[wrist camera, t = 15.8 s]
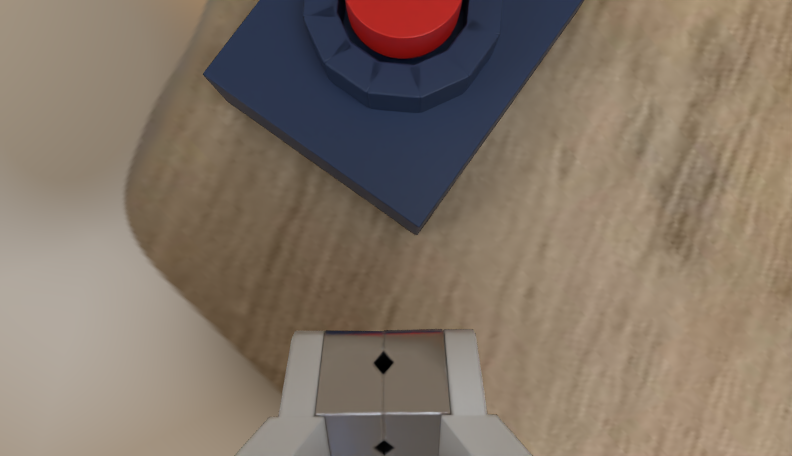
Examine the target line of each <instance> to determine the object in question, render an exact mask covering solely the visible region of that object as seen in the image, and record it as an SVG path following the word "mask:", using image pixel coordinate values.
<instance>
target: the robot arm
mask: <svg viewBox="0 0 792 456" xmlns="http://www.w3.org/2000/svg"><path fill="white" fill-rule="evenodd" d="M235 456H533V455H532V454H531V453H530V452H529V451H528V450H527V448H526V447H525V446H524V445H523V444H522V443H521V442H520V440H519V439H518V438H517V437H516V436H515V435H514V434H513V433H512V431H511V430H510V429H509V428H508V427H507V426H506V425H505V423H504V422H503V421H502V420H501V419H500V418H499V417H498V415H494V414H487V407H486V401H485V394H484V387H483V380H482V373H481V366H480V359H479V353H478V346H477V339H476V334H475V332H474V330H473V329H444V330H442V329H421V330H384V331H295V332H294V335H293V337H292V339H291V345H290V351H289V357H288V363H287V369H286V374H285V380H284V386H283V392H282V398H281V404H280V410H279V415H278V417H269V418H268V419H267V420H266V421H265V422H264V423H263V425H262V426H261V427H260V428H259V429H258V430H257V431H256V432H255V433H254V434H253V435H252V437H251V438H250V439H249V440H248V441H247V442H246V443H245V444H244V446H243V447H242V448H241V449H240V450H239V451H238V452H237V453H236V455H235Z"/></svg>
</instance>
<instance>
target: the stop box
mask: <svg viewBox="0 0 792 456" xmlns="http://www.w3.org/2000/svg"><path fill="white" fill-rule="evenodd" d="M583 1H584V0H462V4H461V9H460V13H459V17H458V21H457V24H456V26H455V28H454V30H453V32H452V33H451V35H450V36H449V37H448V39H447V40H446V41H445V42H444V43H443V44H442V45H441V46H439V47H438V48H436V49H435V50H434V51H432V52H430V53H428V54H425V55H423V56H420V57H415V58H408V59H398V58H391V57H388V56H384V55H382V54H379V53H377V52H375V51H374V50H372V49H370V48H369V47H368V46H366V45H365V44H364V43H363V42H362V41H361V40H360V39H359V37H358V36H357V35H356V33H355V32H354V30H353V28H352V26H351V24H350V21H349V17H348V13H347V8H346V3H345V0H259V2H258V3H257V4H256V6H255V7H254V8H253V9H252V11H251V12H250V13H249V15H248V16H247V17H246V19H245V20H244V21H243V22H242V24H241V25H240V26H239V28H238V29H237V30H236V32H235V33H234V34H233V35H232V37H231V38H230V39H229V41H228V42H227V43H226V44H225V46H224V47H223V48H222V50H221V51H220V52H219V54H218V55H217V56H216V57H215V59H214V60H213V61H212V63H211V64H210V65H209V67H208V68H207V69H206V70H205V72H204V73H203V75H204V76H205V77H206V79H207V80H208V81H209V82H210V83H211V84H212V85H213V86H214V87H215V88H216V89H217V91H218V92H219V93H220V94H221V95H222V96H223V97H224V98H225V99H226V100H227V101H228V102H229V103H230V104H232V105H233V106H235V107H236V108H238V109H239V110H240V111H242V112H243V113H245V114H246V115H247V116H249V117H250V118H252V119H253V120H254V121H256V122H257V123H259V124H260V125H261V126H263V127H264V128H266V129H267V130H268V131H270V132H271V133H273V134H274V135H276V136H277V137H278V138H280V139H281V140H283V141H284V142H285V143H287V144H288V145H290V146H291V147H292V148H294V149H295V150H297V151H298V152H299V153H301V154H302V155H304V156H305V157H306V158H308V159H309V160H311V161H312V162H314V163H315V164H316V165H318V166H319V167H321V168H322V169H323V170H325V171H326V172H328V173H329V174H330V175H332V176H333V177H335V178H336V179H337V180H339V181H340V182H342V183H343V184H344V185H346V186H347V187H349V188H350V189H352V190H353V191H354V192H356V193H357V194H359V195H360V196H361V197H363V198H364V199H366V200H367V201H368V202H370V203H371V204H373V205H374V206H375V207H377V208H378V209H380V210H381V211H382V212H384V213H385V214H387V215H388V216H390V217H391V218H392V219H394V220H395V221H397V222H398V223H399V224H401V225H402V226H404V227H405V228H406V229H408V230H409V231H411V232H412V233H413V234H415V235H418V233H419V232H420V231H421V229H422V228H423V226H424V225H425V224H426V222H427V221H428V219H429V218H430V217H431V215H432V214H433V212H434V211H435V210H436V208H437V207H438V205H439V204H440V203H441V201H442V200H443V198H444V197H445V196H446V194H447V193H448V191H449V190H450V189H451V187H452V186H453V184H454V183H455V182H456V180H457V179H458V177H459V176H460V175H461V173H462V172H463V170H464V169H465V168H466V166H467V165H468V163H469V162H470V161H471V159H472V158H473V156H474V155H475V154H476V152H477V151H478V149H479V148H480V147H481V145H482V144H483V142H484V141H485V140H486V138H487V137H488V135H489V134H490V133H491V131H492V130H493V128H494V127H495V126H496V124H497V123H498V121H499V120H500V119H501V117H502V116H503V114H504V113H505V112H506V110H507V109H508V107H509V106H510V105H511V103H512V102H513V100H514V99H515V98H516V96H517V95H518V93H519V92H520V91H521V89H522V88H523V86H524V85H525V84H526V82H527V81H528V79H529V78H530V77H531V75H532V74H533V72H534V71H535V70H536V68H537V67H538V65H539V64H540V63H541V61H542V60H543V58H544V57H545V56H546V54H547V53H548V51H549V50H550V49H551V47H552V46H553V44H554V43H555V42H556V40H557V39H558V37H559V36H560V35H561V33H562V32H563V30H564V29H565V28H566V26H567V25H568V24H569V22H570V21H571V19H572V18H573V17H574V15H575V14H576V12H577V11H578V9H579V8H580V6H581V4H582V3H583Z"/></svg>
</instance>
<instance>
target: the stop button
mask: <svg viewBox="0 0 792 456" xmlns="http://www.w3.org/2000/svg"><path fill="white" fill-rule="evenodd" d="M345 3H346V8H347V13H348V17H349V21H350V24H351V26H352V28H353V30H354V32H355V33H356V35H357V36H358V37H359V39H360V40H361V41H362V42H363V43H364V44H365V45H366V46H368V47H369V48H370V49H372V50H374V51H375V52H377V53H379V54H382V55H384V56H388V57H391V58H398V59H408V58H415V57H420V56H423V55H425V54H428V53H430V52H432V51H434V50H435V49H436V48H438V47H439V46H441V45H442V44H443V43H444V42H445V41H446V40H447V39H448V37H449V36H450V35H451V33H452V32H453V30H454V28H455V26H456V24H457V21H458V17H459V13H460V9H461V4H462V0H345Z"/></svg>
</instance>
